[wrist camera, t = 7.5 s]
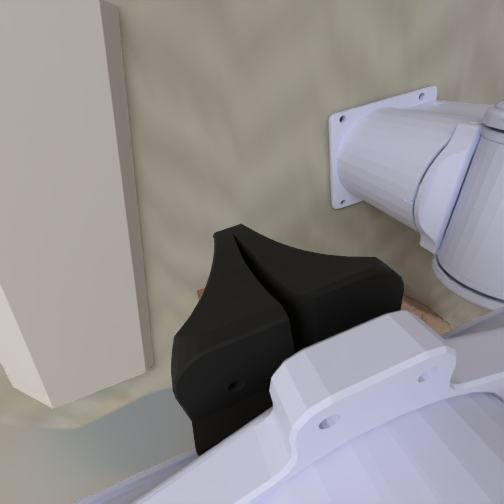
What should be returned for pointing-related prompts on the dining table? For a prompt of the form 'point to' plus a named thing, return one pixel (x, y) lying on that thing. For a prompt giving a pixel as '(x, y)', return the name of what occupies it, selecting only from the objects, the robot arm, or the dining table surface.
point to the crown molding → (68, 204)
